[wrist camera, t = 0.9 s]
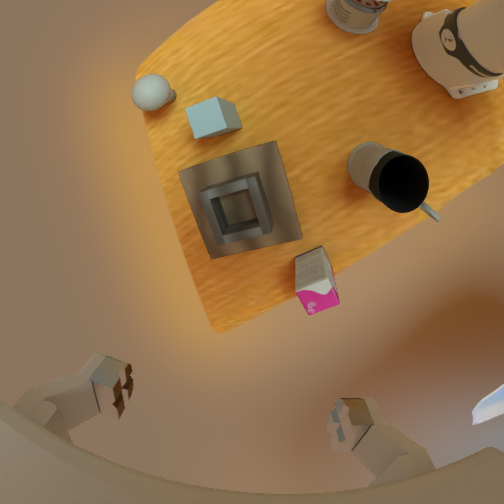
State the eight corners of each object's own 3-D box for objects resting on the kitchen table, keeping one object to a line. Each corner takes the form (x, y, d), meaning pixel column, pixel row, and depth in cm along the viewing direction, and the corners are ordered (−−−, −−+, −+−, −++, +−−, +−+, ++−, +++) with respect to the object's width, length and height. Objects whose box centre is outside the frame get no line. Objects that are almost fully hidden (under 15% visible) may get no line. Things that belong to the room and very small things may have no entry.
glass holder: (365, 131, 40) (398, 135, 26) (421, 180, 42) (464, 203, 28) (338, 171, 44) (359, 191, 30) (395, 216, 45) (430, 251, 32)
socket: (275, 140, 43) (274, 142, 37) (302, 236, 50) (303, 250, 44) (180, 170, 47) (166, 177, 42) (212, 256, 54) (204, 271, 49)
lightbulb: (191, 104, 41) (164, 100, 32) (161, 117, 43) (129, 117, 33) (182, 75, 39) (154, 64, 29) (152, 88, 40) (120, 83, 31)
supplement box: (293, 257, 52) (294, 290, 42) (321, 244, 50) (329, 276, 40) (306, 280, 54) (308, 316, 43) (333, 269, 52) (342, 304, 42)
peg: (234, 104, 41) (216, 96, 30) (242, 127, 42) (227, 127, 32) (209, 112, 42) (185, 108, 31) (217, 135, 44) (195, 139, 33)
